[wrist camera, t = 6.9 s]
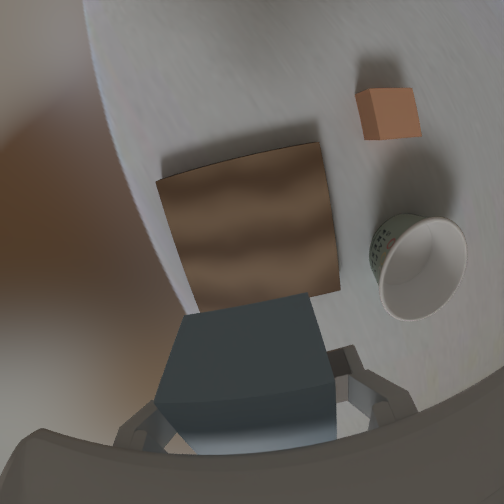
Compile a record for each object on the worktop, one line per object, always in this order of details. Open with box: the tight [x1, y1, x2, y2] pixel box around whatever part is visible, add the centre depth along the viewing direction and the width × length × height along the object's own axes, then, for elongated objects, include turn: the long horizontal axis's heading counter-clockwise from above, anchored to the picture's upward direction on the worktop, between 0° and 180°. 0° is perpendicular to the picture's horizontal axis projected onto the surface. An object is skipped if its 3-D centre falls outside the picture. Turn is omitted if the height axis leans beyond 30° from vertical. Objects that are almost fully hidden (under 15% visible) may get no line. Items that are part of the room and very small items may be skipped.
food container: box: [369, 214, 468, 321], centre depth 27 cm, size 12×12×6 cm
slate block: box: [154, 292, 337, 455], centre depth 10 cm, size 6×6×5 cm
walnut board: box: [156, 142, 341, 313], centre depth 28 cm, size 16×16×2 cm
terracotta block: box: [355, 88, 422, 140], centre depth 22 cm, size 5×5×4 cm
